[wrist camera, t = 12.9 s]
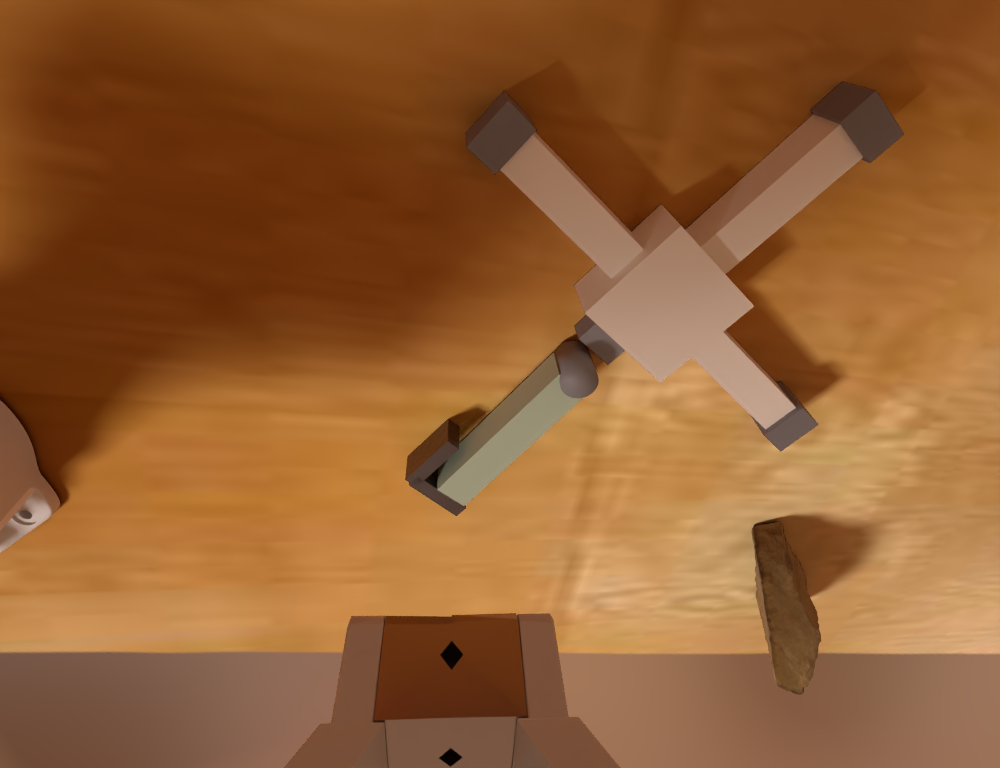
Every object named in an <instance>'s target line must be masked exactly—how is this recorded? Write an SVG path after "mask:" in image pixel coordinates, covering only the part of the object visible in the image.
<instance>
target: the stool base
mask: <svg viewBox="0 0 1000 768" xmlns="http://www.w3.org/2000/svg"><path fill="white" fill-rule="evenodd" d="M811 112H812V113H813V115H812V116H811V117H810V118H808V119H807V120H806V121H805V122H804V123H803V124H802V125H801V126H800V127H798V128H797V129H796V130H795V131H794V132H793V133H792V134H791V135H790V136H788V137H787V138H786V139H785V140H784V141H783V142H782V143H781V144H780V145H778V146H777V147H776V148H775V149H774V150H773V151H772V152H771V153H770V154H769V155H767V156H766V157H765V158H764V159H763V160H762V161H761V162H760V163H759V164H757V165H756V166H755V167H754V168H753V169H752V170H751V171H750V172H749V173H747V174H746V175H745V176H744V177H743V178H742V179H741V180H740V181H739V182H737V183H736V184H735V185H734V186H733V187H732V188H731V189H730V190H729V191H727V192H726V193H725V194H724V195H723V196H722V197H721V198H720V199H719V200H717V201H716V202H715V203H714V204H713V205H712V206H711V207H710V208H709V209H708V210H706V211H705V212H704V213H703V214H702V215H701V216H700V217H699V218H698V219H696V220H695V221H694V222H693V223H692V224H691V225H690V226H689V227H688V228H686V229H684V228H683V227H682V226H681V225H680V224H679V223H678V222H677V221H676V220H675V218H674V217H673V216H672V215H671V214H670V213H669V212H668V211H667V210H666V209H665V208H664V207H663V205H662V204H661V205H660V206H659V207H657V208H656V209H655V210H654V211H653V212H652V213H651V214H650V215H649V216H648V217H647V218H646V219H645V220H644V221H642V222H641V223H640V224H639V225H638V226H637V227H636V228H635V229H634V230H633V231H632V232H631V231H630V230H629V229H628V228H627V227H626V226H625V225H624V224H623V223H622V222H621V221H620V220H619V219H618V217H617V216H616V215H615V214H614V213H613V212H612V211H611V210H610V209H609V208H608V207H607V206H606V205H605V204H604V203H603V202H602V201H601V200H600V199H599V198H598V197H597V196H596V195H595V194H594V192H593V191H592V190H591V189H590V188H589V187H588V186H587V185H586V184H585V183H584V182H583V181H582V180H581V179H580V178H579V177H578V176H577V175H576V174H575V173H574V172H573V171H572V170H571V169H570V167H569V166H568V165H567V164H566V163H565V162H564V161H563V160H562V159H561V158H560V157H559V156H558V155H557V154H556V153H555V152H554V151H553V150H552V149H551V148H550V147H549V146H548V145H547V144H546V143H545V141H544V140H543V139H542V138H541V137H540V136H539V135H538V134H537V133H536V131H537V130H536V128H535V126H534V124H533V123H532V121H531V119H530V118H529V116H528V115H527V114H526V113H525V112H524V111H523V110H522V109H521V108H520V107H519V106H518V105H517V104H516V103H515V102H514V101H513V100H512V99H511V98H510V97H509V95H508V94H507V93H506V92H505V91H503V92H502V93H501V94H500V95H499V97H498V98H497V99H496V100H495V101H494V102H493V103H492V104H491V106H490V107H489V108H488V109H487V110H486V111H485V112H484V114H483V115H482V116H481V117H480V118H479V119H478V120H477V121H476V123H475V124H474V125H473V126H472V127H471V128H470V129H469V131H468V132H467V133H466V147H467V148H468V149H469V150H470V151H471V152H472V153H473V154H474V155H475V156H476V157H477V158H478V159H479V160H480V161H481V162H482V163H483V164H484V165H485V166H486V167H487V168H488V169H490V170H491V171H492V172H493V173H494V174H495V175H496V174H497V172H498V171H499V170H501V171H502V172H503V173H504V174H505V175H506V176H507V177H508V178H509V179H510V180H511V181H512V182H513V183H514V184H515V185H516V186H517V187H518V188H519V189H520V190H521V191H522V192H523V193H524V194H525V195H526V196H527V197H528V198H529V199H530V200H531V201H532V202H533V203H534V204H535V205H536V206H537V207H538V208H539V209H540V210H542V211H543V212H544V213H545V214H546V215H547V216H548V217H549V218H550V219H551V220H552V221H553V222H554V223H555V224H556V225H557V226H558V227H559V228H560V229H561V230H562V231H563V232H564V233H565V234H566V235H567V236H568V237H569V238H570V239H571V240H572V241H573V242H574V243H575V244H576V245H577V246H578V247H579V248H580V249H581V250H582V251H583V252H584V253H586V254H587V255H588V256H589V257H590V258H591V259H592V260H593V261H594V262H595V263H596V265H595V266H594V267H593V268H592V269H591V270H590V271H589V272H588V273H587V274H586V275H585V276H584V277H582V278H581V279H580V280H579V281H578V282H577V283H576V284H575V285H574V287H575V289H576V292H577V295H578V297H579V300H580V302H581V305H582V307H583V310H584V313H585V314H586V316H585V317H584V318H582V319H581V320H580V321H579V322H578V323H577V324H576V325H575V326H574V327H575V330H576V332H577V335H578V338H579V340H581V341H582V342H583V343H584V344H585V345H586V346H587V347H588V348H589V349H591V350H592V351H593V352H594V353H595V354H596V355H597V356H598V357H600V358H601V359H602V360H603V361H604V362H605V363H606V364H607V365H608V364H609V363H611V362H612V361H613V360H614V359H615V358H617V357H618V356H619V355H620V354H621V353H622V352H624V351H626V352H627V353H629V354H630V355H631V356H632V357H633V358H634V359H635V360H636V361H637V362H638V363H639V364H640V365H642V366H643V367H644V368H645V369H646V370H647V371H648V372H649V373H650V374H651V375H652V376H653V377H655V378H656V379H657V380H658V381H659V382H660V383H661V382H662V381H663V380H664V379H666V378H667V377H668V376H669V375H670V374H672V373H673V372H674V371H675V370H677V369H678V368H679V367H680V366H682V365H683V364H684V363H685V362H686V361H688V360H689V359H690V358H691V357H692V358H693V359H694V360H695V361H696V362H697V363H698V364H699V365H700V366H701V367H702V368H703V369H704V370H705V371H706V372H707V373H708V374H709V375H710V376H711V377H712V378H713V379H714V380H715V381H717V382H718V383H719V384H720V385H721V386H722V387H723V388H724V389H725V390H726V391H727V392H728V393H729V394H730V395H731V396H732V397H733V398H734V399H735V400H736V401H737V402H738V403H739V404H740V405H741V406H742V407H743V408H744V409H745V410H746V411H747V412H748V413H749V414H750V415H751V417H752V418H753V420H754V421H755V423H756V424H757V426H758V427H759V429H760V430H761V432H762V433H763V435H764V436H765V437H766V438H767V439H768V440H769V441H770V442H771V443H772V444H773V445H774V446H775V447H776V448H777V449H779V450H780V451H782V450H784V449H785V448H786V447H788V446H789V445H791V444H792V443H793V442H795V441H796V440H798V439H799V438H801V437H802V436H803V435H805V434H806V433H808V432H809V431H810V430H812V429H813V428H815V427H816V426H817V425H818V423H817V422H816V421H815V420H814V418H813V417H812V416H811V415H810V414H809V412H808V411H807V410H806V409H805V407H804V406H803V405H802V404H801V403H800V401H799V400H798V399H797V398H796V397H795V395H794V394H793V393H792V392H791V391H790V390H789V389H788V388H787V387H786V386H785V385H784V384H783V383H782V382H781V381H780V382H778V383H776V382H775V381H774V380H773V379H772V378H771V377H770V376H769V375H768V374H767V373H766V372H765V371H764V370H763V369H762V367H761V366H760V365H759V364H758V363H757V362H756V361H755V360H754V359H753V358H752V357H751V356H750V355H749V354H748V353H747V352H746V351H745V350H744V349H743V348H742V347H741V346H740V345H739V344H738V342H737V341H736V340H735V339H734V338H733V337H732V336H731V335H730V334H729V333H728V332H727V331H726V329H727V328H728V327H729V326H731V325H732V324H733V323H734V322H736V321H737V320H738V319H739V318H741V317H742V316H743V315H744V314H745V313H747V312H748V311H749V310H750V309H752V308H753V307H754V305H753V304H752V303H751V302H750V301H749V300H748V299H747V298H746V297H745V295H744V294H743V293H742V292H741V291H740V290H739V289H738V288H737V287H736V286H735V284H734V283H733V282H732V281H731V280H730V279H729V278H728V277H727V276H726V275H725V274H726V273H728V272H729V271H730V270H731V269H732V268H733V267H735V266H736V265H737V264H738V263H739V262H741V261H742V260H743V259H744V258H745V257H746V256H748V255H749V254H750V253H751V252H752V251H753V250H755V249H756V248H757V247H758V246H759V245H761V244H762V243H763V242H764V241H765V240H766V239H768V238H769V237H770V236H771V235H772V234H774V233H775V232H776V231H777V230H778V229H779V228H781V227H782V226H783V225H784V224H785V223H786V222H788V221H789V220H790V219H791V218H792V217H794V216H795V215H796V214H797V213H798V212H799V211H801V210H802V209H803V208H804V207H805V206H807V205H808V204H809V203H810V202H811V201H812V200H814V199H815V198H816V197H817V196H818V195H819V194H821V193H822V192H823V191H824V190H825V189H827V188H828V187H829V186H830V185H831V184H832V183H834V182H835V181H836V180H837V179H838V178H839V177H841V176H842V175H843V174H844V173H845V172H847V171H848V170H849V169H850V168H851V167H852V166H854V165H855V164H856V163H857V162H858V161H860V160H861V159H862V160H864V161H866V162H869V163H871V162H872V161H873V160H874V159H876V158H877V157H878V156H879V155H880V154H882V153H883V152H884V151H885V150H886V149H887V148H889V147H890V146H891V145H892V144H893V143H895V142H896V141H897V140H898V139H899V138H901V137H902V136H903V135H904V132H903V131H902V129H901V128H900V126H899V125H898V123H897V122H896V120H895V119H894V117H893V115H892V114H891V112H890V111H889V109H888V108H887V106H886V105H885V103H884V102H883V100H882V98H881V97H880V95H879V94H878V92H877V91H876V90H872V89H869V88H865V87H861V86H857V85H853V84H849V83H845V82H841V83H840V84H839V85H838V86H837V87H835V88H834V89H833V90H832V91H831V92H830V93H829V94H828V95H827V96H826V97H824V98H823V99H822V100H821V101H820V102H819V103H818V104H817V105H816V106H814V107H813V108H812V109H811Z"/></svg>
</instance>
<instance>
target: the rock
mask: <svg viewBox="0 0 1000 768" xmlns="http://www.w3.org/2000/svg"><path fill="white" fill-rule="evenodd" d="M752 537H753V542H754V548H755V559H756V567H755V572H756V578H755V581H756V587H757V592H756V598H757V602H758V606H759V611H760V615H761V619H762V623H763V628H764V631H765V638H766V641H767V644H768V649H769V652H770V658H771V664H772V669H773V674H774V681H775V684H776V685H777V686H779V687H781V688H783V689H785V690H787V691H790V692H792V693H795V694H803V692H804V687H807V686H808V684H809V682H810V680H811V678H812V676H813V671H814V667H815V660H816V659H817V657H818V655H817V653H818V646H819V642H821V635H820V631H819V624H818V616H817V611H816V609H815V607H814V605H813V603H812V601H811V599H810V596H809V594H808V593H807V586H806V576H805V574H804V572H803V570H802V568H801V564H800V561H798V559H797V557H796V556H795V555H794V554H793V553H792V551H791V547H790V546H789V544H788V543H787V542H786V538H785V536H784V527H783V526H782V524H781V523H780V522H775V523H769V524H761V525H757V526H754V527H753V528H752Z"/></svg>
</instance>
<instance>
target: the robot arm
mask: <svg viewBox="0 0 1000 768" xmlns="http://www.w3.org/2000/svg"><path fill="white" fill-rule="evenodd" d="M59 507H60V500H59V498H58V496H57V494H56V493H55V491H54V490H53V489H52V487H51V486H50V485H49V484H48V482H47V481H46V480H45V479H44V477H43V476H42V475H41V473H40V471H39V468H38V465H37V462H36V457H35V453H34V449H33V446H32V443H31V441H30V439H29V437H28V435H27V433H26V431H25V429H24V428H23V426H22V425H21V423H20V422H19V420H18V419H17V418H16V416H15V415H14V414H13V413H12V412H11V411H10V409H9V408H8V407H7V406H6V405H5V404H4V403H3V402H2V401H1V400H0V553H1V552H2V551H4V550H5V549H7V548H8V547H9V546H11V545H12V544H14V543H15V542H16V541H18V540H19V539H21V538H22V537H23V536H25V535H26V534H28V533H29V532H30V531H32V530H33V529H35V528H36V527H37V526H39V525H40V524H42V523H43V522H44V521H46V520H47V519H48V518H50V517H51V516H52V515H53V514H54V513H55V512H56V511H57V510H58V508H59ZM284 768H620V767H619V766H618V765H617V763H616V762H615V761H614V759H613V758H612V757H611V756H610V755H609V754H608V752H607V751H606V750H605V749H604V747H603V746H602V745H601V744H600V742H599V741H598V740H597V739H596V738H595V737H594V735H593V734H592V733H591V732H590V731H589V729H588V728H587V727H586V725H585V724H584V723H583V722H582V721H581V719H580V718H579V717H568V711H567V705H566V698H565V692H564V685H563V679H562V673H561V666H560V660H559V653H558V647H557V640H556V634H555V627H554V621H553V618H552V617H551V615H550V614H549V613H547V614H518V615H516V613H509V614H476V615H452V617H437V616H351V619H350V622H349V624H348V627H347V632H346V638H345V644H344V650H343V656H342V662H341V668H340V673H339V679H338V686H337V691H336V697H335V703H334V709H333V715H332V720H331V723H326V724H320V725H319V726H318V727H317V728H316V730H315V731H314V732H313V733H312V735H311V736H310V737H309V738H308V739H307V741H306V742H305V743H304V744H303V746H302V747H301V748H300V749H299V750H298V752H297V753H296V754H295V755H294V756H293V758H292V759H291V760H290V761H289V762H288V764H287V765H286V766H285V767H284Z"/></svg>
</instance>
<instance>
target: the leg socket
mask: <svg viewBox="0 0 1000 768" xmlns="http://www.w3.org/2000/svg"><path fill="white" fill-rule="evenodd" d="M458 450H459V426H457V425H456V424H455V423H453V422H452V421H450V420H449V419H448V420H447V421H446V422H444V423H443V424H442V425H441V426H440V427H439V428H438V429H437V430H436V431H435V432H434V433H433V434H431V435H430V436H429V437H428V438H427V439H426V440H425V441H424V442H423V443H422V444H421V445H419V446H418V447H417V448H416V449H415V450H414V451H413V452H412V453H411V454H410V455H409V456H408V458H407V468H406V478H405V480H406V481H408V482H409V485H410V486H411V487H413V488H414V489H416V490H417V491H419V492H420V493H422V494H423V495H425V496H426V497H428V498H429V499H431V500H432V501H434V502H436V503H437V504H439V505H440V506H442V507H443V508H445V509H446V510H448V511H449V512H451V513H452V514H454V515H455V516H457V515H458V514H460V513H461V512H462V511H463V510H464V509H466V505H465V506H463V505H461V504H460V503H458V502H456V501H455V500H453V499H451V498H450V497H448V496H447V495H445V494H443V493H442V492H440V491H438V490H437V481H438V468H439V467H440V466H441V465H442V464H443V463H444V462H445V461H446V460H448V459H449V458H450V457H451V456H452V455H453V454H454V453H455V452H457V451H458Z"/></svg>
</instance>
